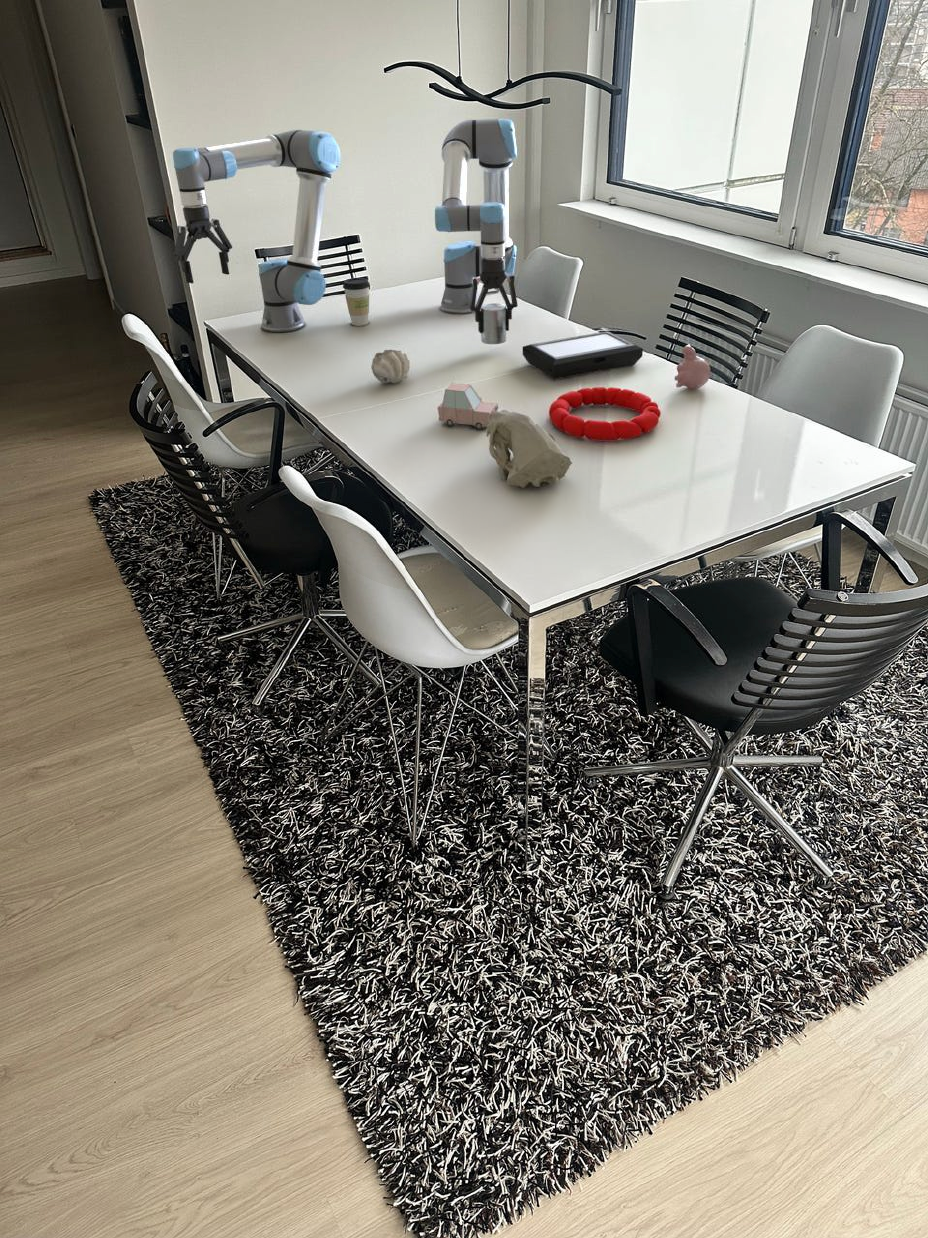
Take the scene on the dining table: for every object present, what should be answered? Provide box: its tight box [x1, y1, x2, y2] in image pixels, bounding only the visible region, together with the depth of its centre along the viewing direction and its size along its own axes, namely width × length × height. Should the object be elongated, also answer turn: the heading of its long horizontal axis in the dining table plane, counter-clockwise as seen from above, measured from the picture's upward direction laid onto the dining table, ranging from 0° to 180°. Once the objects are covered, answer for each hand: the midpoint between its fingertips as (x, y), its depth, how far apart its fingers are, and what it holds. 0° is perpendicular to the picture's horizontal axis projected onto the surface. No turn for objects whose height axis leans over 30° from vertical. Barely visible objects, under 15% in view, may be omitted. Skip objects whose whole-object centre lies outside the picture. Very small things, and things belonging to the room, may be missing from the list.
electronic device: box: [522, 330, 644, 381], centre depth 281 cm, size 32×6×20 cm
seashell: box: [371, 349, 411, 384], centre depth 271 cm, size 10×15×10 cm
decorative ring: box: [548, 386, 661, 442], centre depth 242 cm, size 7×30×30 cm
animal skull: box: [485, 409, 573, 489], centre depth 216 cm, size 17×25×20 cm
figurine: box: [674, 344, 711, 390], centre depth 259 cm, size 9×11×12 cm
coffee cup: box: [342, 277, 371, 327], centre depth 323 cm, size 10×10×15 cm
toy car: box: [437, 382, 499, 431], centre depth 243 cm, size 9×15×10 cm, turn 70°
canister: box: [480, 303, 507, 345], centre depth 290 cm, size 8×8×11 cm
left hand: (208, 278), depth 283 cm, fingers open, 13 cm apart
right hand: (493, 330), depth 291 cm, fingers closed on canister, 8 cm apart
